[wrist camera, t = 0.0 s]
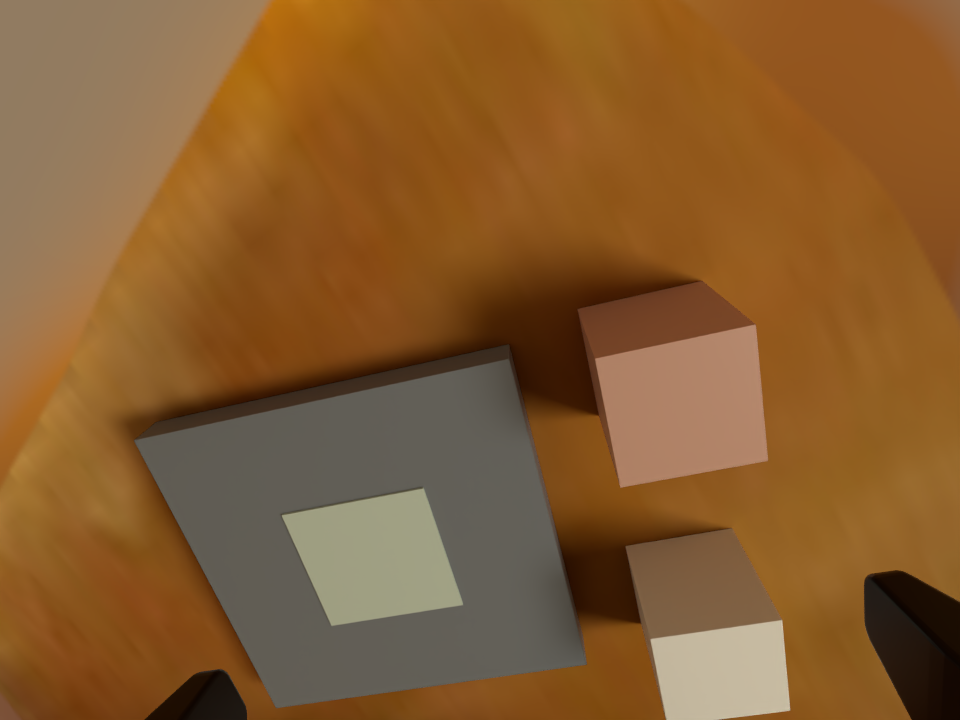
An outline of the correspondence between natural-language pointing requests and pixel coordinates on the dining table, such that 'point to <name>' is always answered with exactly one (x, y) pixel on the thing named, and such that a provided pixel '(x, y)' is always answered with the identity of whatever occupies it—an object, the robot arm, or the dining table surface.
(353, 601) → the charcoal plate
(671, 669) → the cream block
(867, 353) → the dining table surface
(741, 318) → the terracotta block
